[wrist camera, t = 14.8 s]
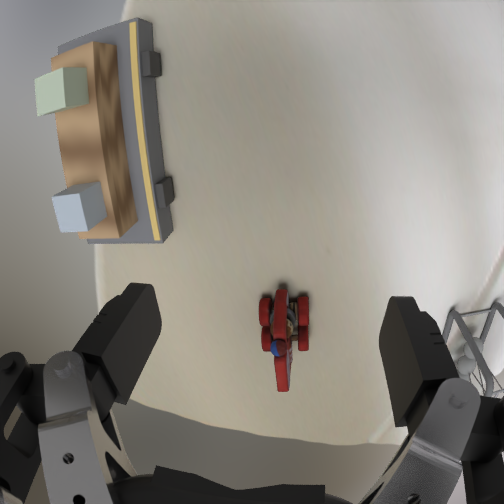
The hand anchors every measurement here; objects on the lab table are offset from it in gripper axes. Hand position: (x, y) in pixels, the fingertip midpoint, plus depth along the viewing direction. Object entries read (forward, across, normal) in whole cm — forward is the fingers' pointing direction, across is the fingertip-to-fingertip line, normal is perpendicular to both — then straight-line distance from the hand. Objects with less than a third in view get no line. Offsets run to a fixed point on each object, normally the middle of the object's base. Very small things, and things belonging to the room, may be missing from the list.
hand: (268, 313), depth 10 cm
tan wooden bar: (+24, +21, -4) cm, 33 cm away
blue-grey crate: (+20, +21, +3) cm, 29 cm away
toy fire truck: (+29, 0, +24) cm, 37 cm away
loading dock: (+28, +22, -3) cm, 36 cm away
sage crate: (+20, +21, -10) cm, 31 cm away
